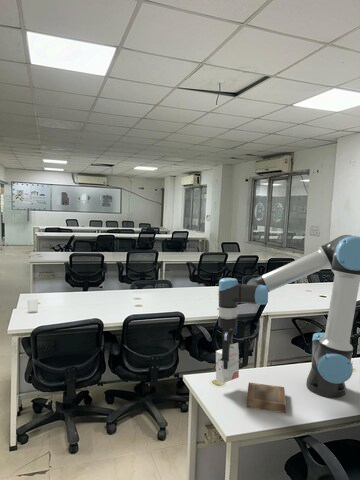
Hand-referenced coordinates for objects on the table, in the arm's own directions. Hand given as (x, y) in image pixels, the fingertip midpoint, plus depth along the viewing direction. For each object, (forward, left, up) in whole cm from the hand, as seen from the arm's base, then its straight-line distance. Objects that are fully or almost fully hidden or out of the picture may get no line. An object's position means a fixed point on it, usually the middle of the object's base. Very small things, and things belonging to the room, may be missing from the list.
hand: (227, 370), depth 143 cm
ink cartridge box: (0, 0, -3) cm, 3 cm away
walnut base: (-16, +4, -8) cm, 18 cm away
